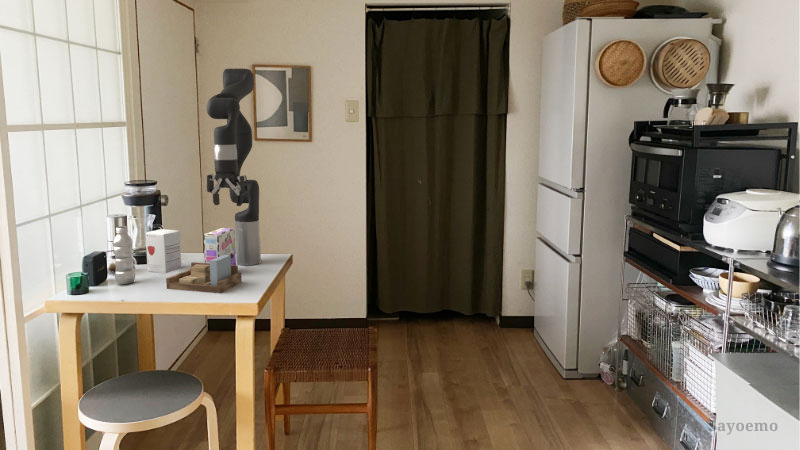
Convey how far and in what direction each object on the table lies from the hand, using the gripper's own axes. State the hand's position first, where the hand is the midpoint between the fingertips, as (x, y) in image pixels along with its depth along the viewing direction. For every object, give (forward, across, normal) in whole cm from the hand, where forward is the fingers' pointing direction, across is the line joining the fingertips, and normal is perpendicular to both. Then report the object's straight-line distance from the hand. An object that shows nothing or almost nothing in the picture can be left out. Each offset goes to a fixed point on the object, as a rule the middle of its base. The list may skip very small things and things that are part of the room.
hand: (228, 205), depth 221 cm
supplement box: (+28, +35, -10) cm, 46 cm away
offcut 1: (+26, +9, +11) cm, 30 cm away
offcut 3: (+27, +8, +6) cm, 28 cm away
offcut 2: (+24, +8, +6) cm, 26 cm away
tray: (+28, +5, +8) cm, 29 cm away
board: (+27, -1, +8) cm, 28 cm away
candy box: (+28, +11, -11) cm, 32 cm away
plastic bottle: (+28, +35, +10) cm, 46 cm away
